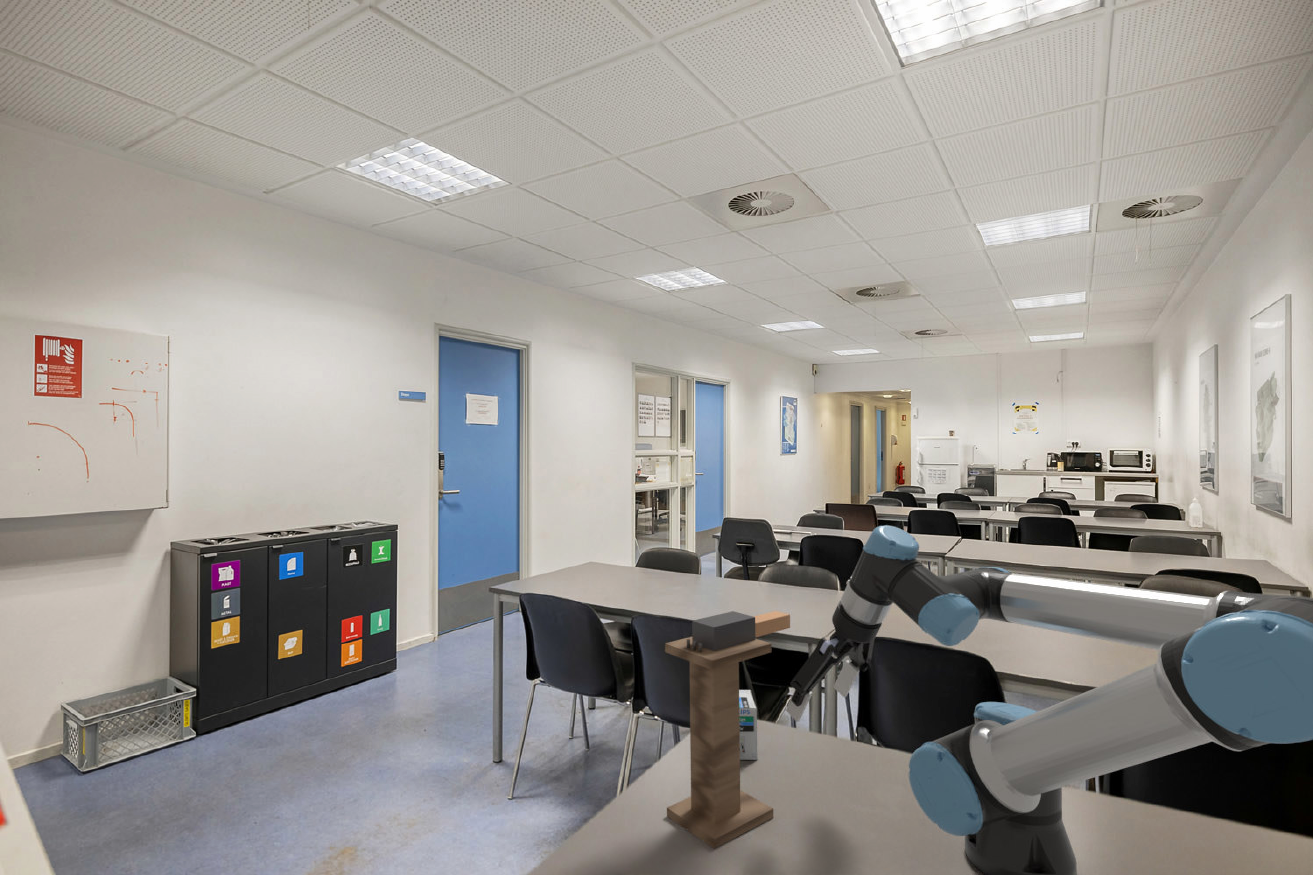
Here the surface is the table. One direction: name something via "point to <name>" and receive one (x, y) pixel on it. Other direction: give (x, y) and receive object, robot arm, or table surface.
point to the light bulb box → (747, 726)
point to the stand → (716, 745)
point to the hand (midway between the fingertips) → (817, 703)
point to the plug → (736, 628)
